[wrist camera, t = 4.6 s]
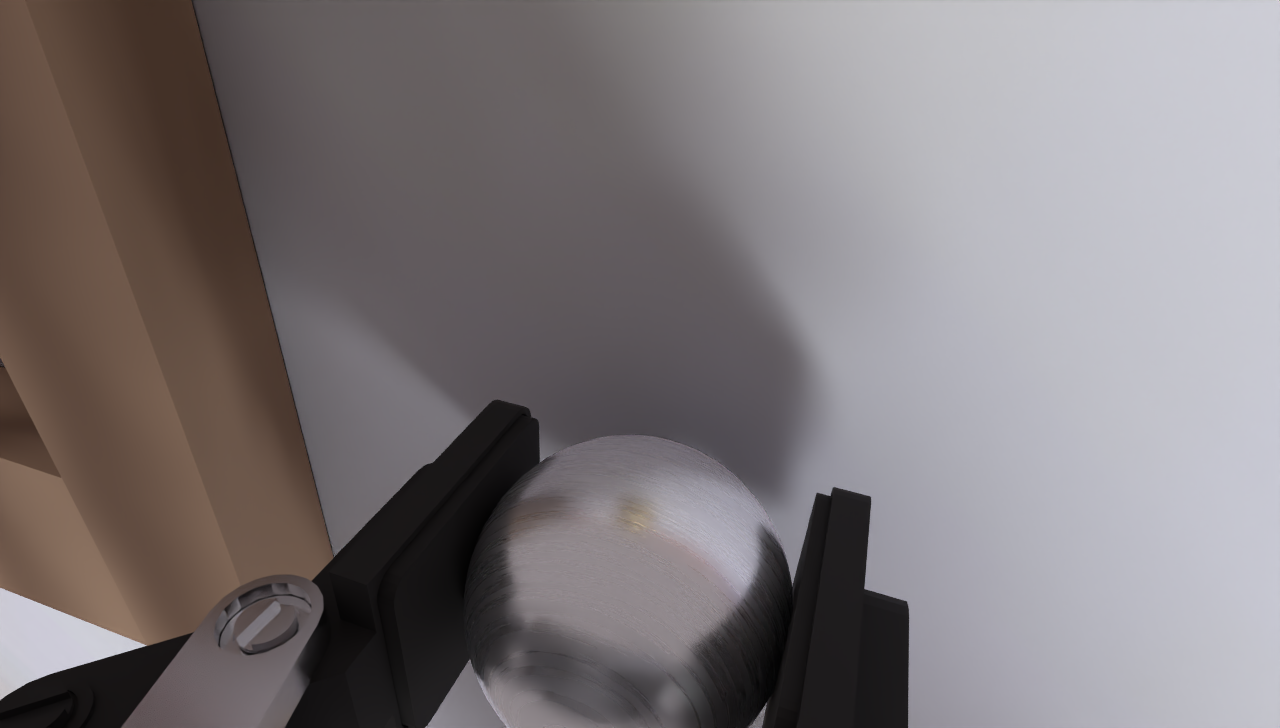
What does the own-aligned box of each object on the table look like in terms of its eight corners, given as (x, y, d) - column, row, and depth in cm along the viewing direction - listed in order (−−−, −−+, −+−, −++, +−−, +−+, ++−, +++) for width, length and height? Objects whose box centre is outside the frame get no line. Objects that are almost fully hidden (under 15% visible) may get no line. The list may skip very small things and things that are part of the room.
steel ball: (840, 416, 10) (796, 690, 6) (785, 624, 12) (730, 913, 9) (550, 348, 11) (366, 547, 7) (551, 551, 13) (412, 778, 10)
